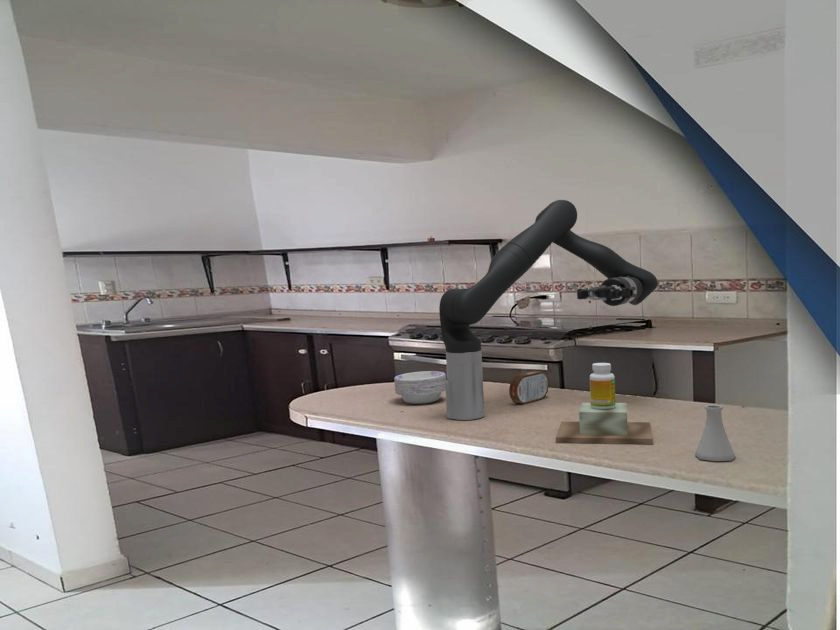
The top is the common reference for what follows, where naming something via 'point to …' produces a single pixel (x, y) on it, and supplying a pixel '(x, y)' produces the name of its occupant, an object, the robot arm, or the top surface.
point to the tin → (528, 387)
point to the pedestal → (604, 427)
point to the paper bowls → (420, 386)
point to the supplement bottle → (602, 387)
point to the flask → (714, 438)
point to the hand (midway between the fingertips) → (595, 294)
